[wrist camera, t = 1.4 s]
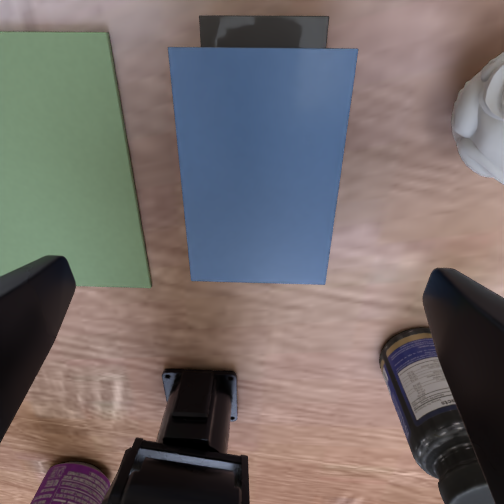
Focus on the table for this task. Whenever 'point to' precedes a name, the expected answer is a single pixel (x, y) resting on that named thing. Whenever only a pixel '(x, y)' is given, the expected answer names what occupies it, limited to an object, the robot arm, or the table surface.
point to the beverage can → (72, 485)
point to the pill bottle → (432, 417)
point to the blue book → (260, 158)
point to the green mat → (67, 160)
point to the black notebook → (264, 31)
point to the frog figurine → (482, 121)
